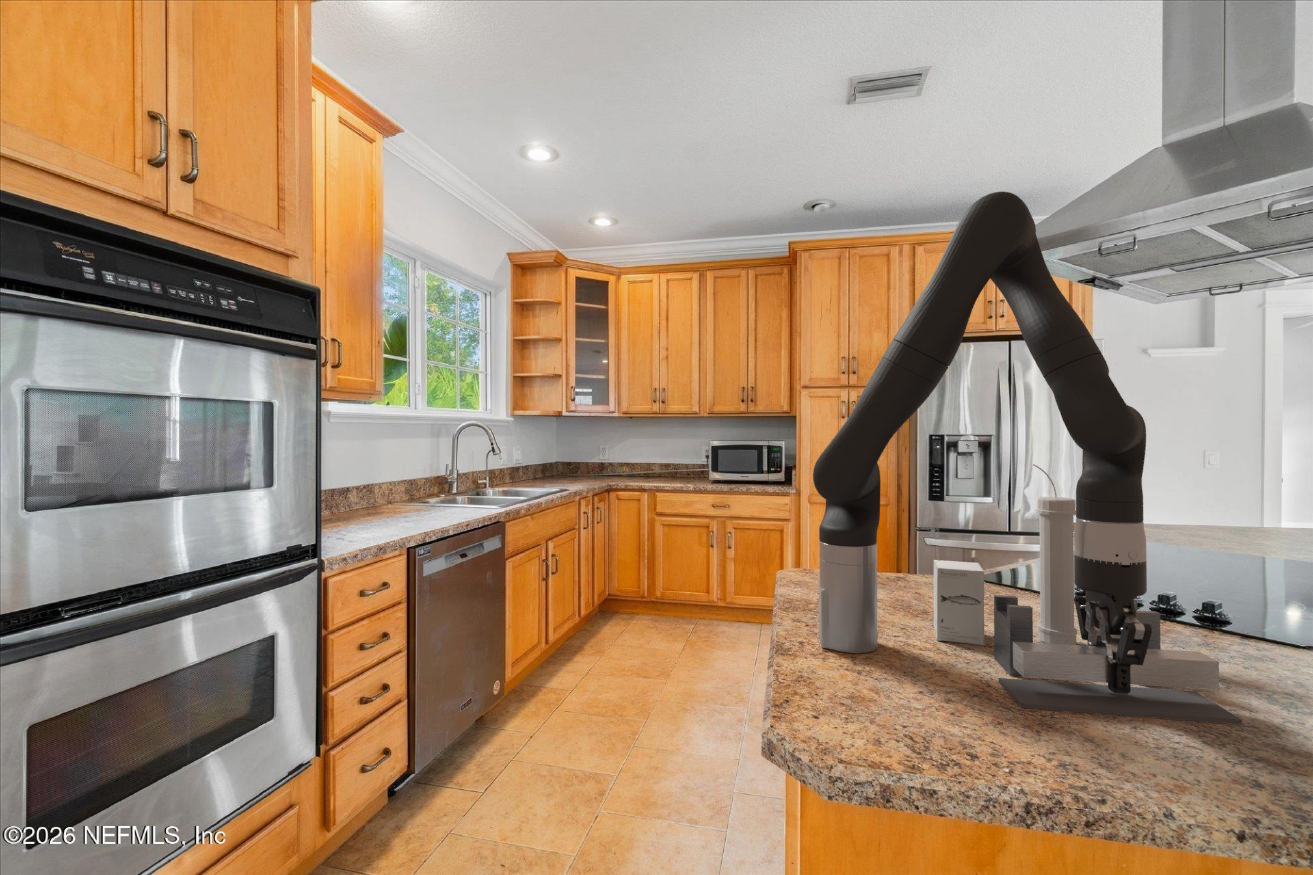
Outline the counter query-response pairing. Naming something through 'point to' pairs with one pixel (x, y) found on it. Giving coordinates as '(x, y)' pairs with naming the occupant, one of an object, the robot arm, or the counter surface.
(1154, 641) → the post
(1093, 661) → the rail
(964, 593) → the supplement box
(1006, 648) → the post
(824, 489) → the robot arm
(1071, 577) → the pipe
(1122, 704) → the mat
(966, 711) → the counter surface
